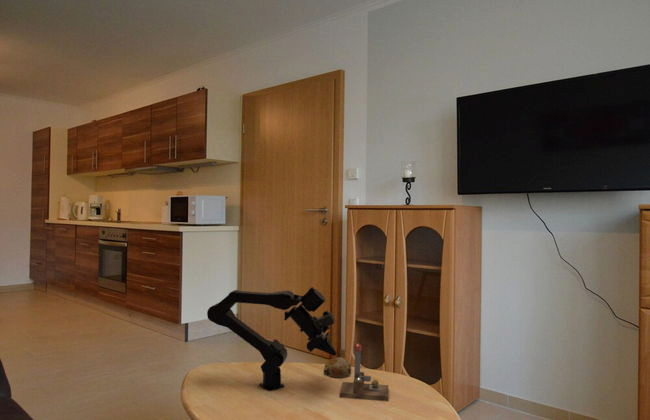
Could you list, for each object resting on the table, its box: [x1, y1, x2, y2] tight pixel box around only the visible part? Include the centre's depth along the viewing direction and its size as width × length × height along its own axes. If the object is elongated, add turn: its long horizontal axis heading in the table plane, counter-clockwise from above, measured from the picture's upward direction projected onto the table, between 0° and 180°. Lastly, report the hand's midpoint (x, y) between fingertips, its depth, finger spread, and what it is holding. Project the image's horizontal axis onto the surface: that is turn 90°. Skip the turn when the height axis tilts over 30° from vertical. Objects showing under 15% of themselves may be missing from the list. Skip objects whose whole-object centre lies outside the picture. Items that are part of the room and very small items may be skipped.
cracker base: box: [339, 371, 389, 402], centre depth 155 cm, size 16×10×6 cm, turn 82°
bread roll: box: [323, 356, 352, 379], centre depth 173 cm, size 10×10×8 cm
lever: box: [353, 342, 372, 383], centre depth 155 cm, size 6×6×13 cm
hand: (335, 354), depth 157 cm, fingers closed
